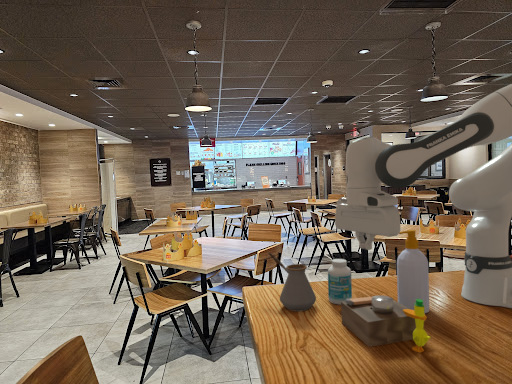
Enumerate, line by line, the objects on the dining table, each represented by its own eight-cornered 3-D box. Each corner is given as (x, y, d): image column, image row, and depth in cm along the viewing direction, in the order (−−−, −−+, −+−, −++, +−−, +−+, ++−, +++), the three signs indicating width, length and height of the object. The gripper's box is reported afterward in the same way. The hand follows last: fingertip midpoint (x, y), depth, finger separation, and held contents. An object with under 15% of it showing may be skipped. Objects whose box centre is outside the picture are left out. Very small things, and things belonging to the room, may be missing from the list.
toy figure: (399, 346, 81) (398, 296, 81) (409, 341, 83) (407, 293, 83) (426, 358, 76) (425, 305, 75) (436, 353, 77) (434, 301, 77)
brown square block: (386, 316, 98) (386, 295, 98) (420, 338, 85) (419, 314, 84) (341, 323, 95) (341, 301, 95) (368, 346, 82) (368, 322, 81)
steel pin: (393, 326, 90) (392, 296, 89) (395, 335, 85) (394, 303, 84) (372, 324, 91) (371, 294, 91) (373, 333, 86) (371, 302, 86)
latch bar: (380, 299, 96) (380, 294, 96) (385, 302, 93) (385, 298, 93) (345, 302, 94) (345, 298, 93) (349, 306, 91) (349, 301, 91)
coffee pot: (324, 307, 107) (322, 260, 106) (295, 317, 101) (293, 266, 100) (283, 290, 125) (281, 249, 124) (256, 297, 119) (254, 254, 118)
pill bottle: (328, 305, 109) (326, 263, 108) (329, 297, 116) (327, 257, 115) (352, 306, 107) (351, 263, 106) (351, 297, 114) (350, 257, 114)
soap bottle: (389, 308, 104) (387, 230, 103) (410, 301, 108) (408, 226, 107) (414, 317, 97) (412, 234, 95) (436, 310, 101) (434, 230, 100)
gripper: (329, 197, 100) (330, 244, 101) (386, 200, 82) (388, 257, 83) (345, 196, 103) (346, 241, 104) (403, 198, 85) (405, 253, 86)
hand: (365, 248), depth 93 cm, fingers closed
